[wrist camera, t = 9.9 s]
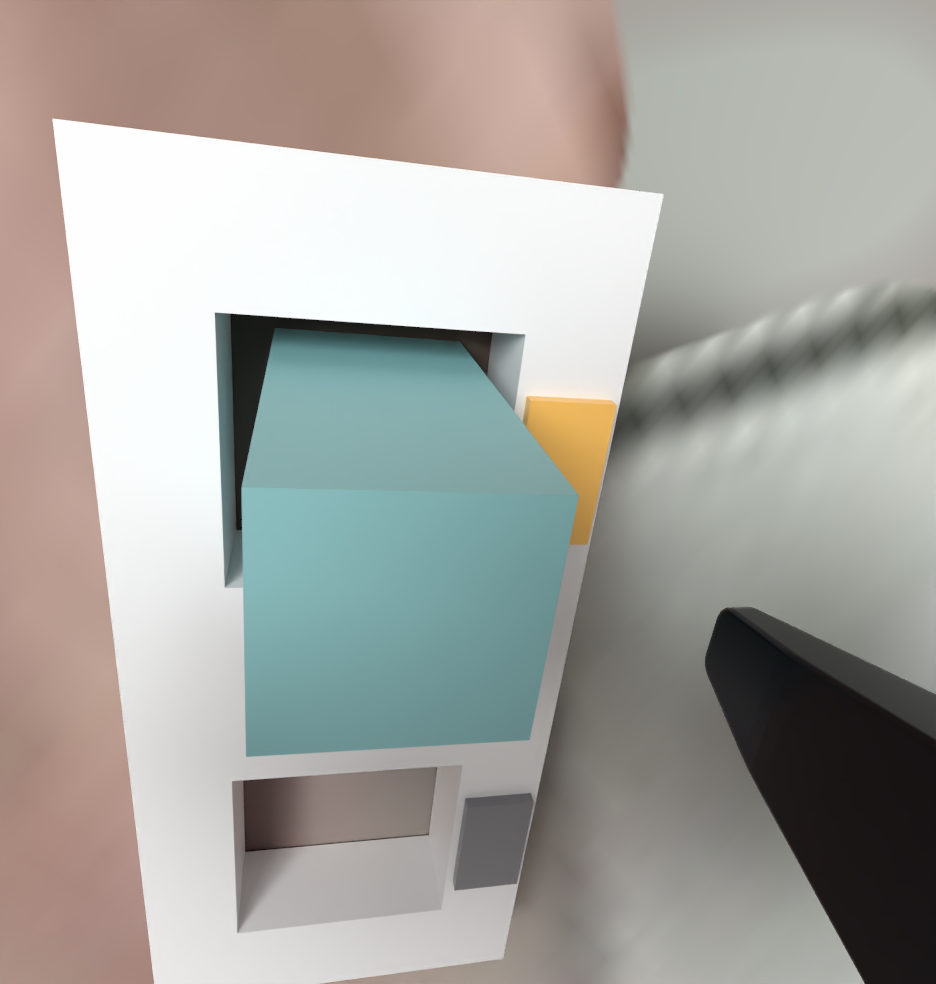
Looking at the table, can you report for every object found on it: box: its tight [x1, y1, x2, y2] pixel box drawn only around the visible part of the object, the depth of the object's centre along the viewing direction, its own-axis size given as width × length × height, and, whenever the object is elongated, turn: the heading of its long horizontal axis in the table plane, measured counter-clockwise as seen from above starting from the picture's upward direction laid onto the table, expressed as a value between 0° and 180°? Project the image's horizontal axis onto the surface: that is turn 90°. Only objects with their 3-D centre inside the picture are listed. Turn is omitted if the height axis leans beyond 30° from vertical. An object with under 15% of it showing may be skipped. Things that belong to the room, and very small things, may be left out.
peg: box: [241, 328, 579, 757], centre depth 13 cm, size 4×4×8 cm
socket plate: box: [53, 119, 663, 984], centre depth 17 cm, size 10×22×3 cm, turn 173°
